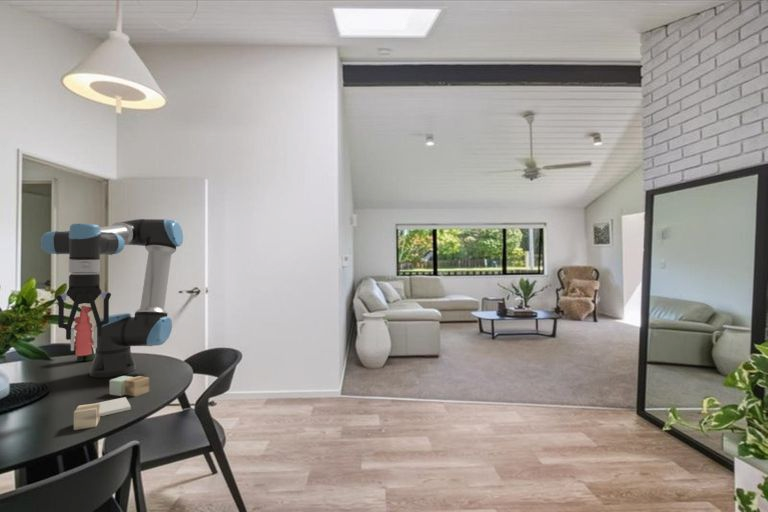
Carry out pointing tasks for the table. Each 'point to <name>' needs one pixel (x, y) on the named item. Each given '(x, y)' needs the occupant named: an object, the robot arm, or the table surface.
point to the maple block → (86, 416)
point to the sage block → (118, 385)
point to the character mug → (87, 357)
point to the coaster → (114, 406)
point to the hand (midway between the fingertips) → (83, 348)
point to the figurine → (83, 333)
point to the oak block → (137, 386)
